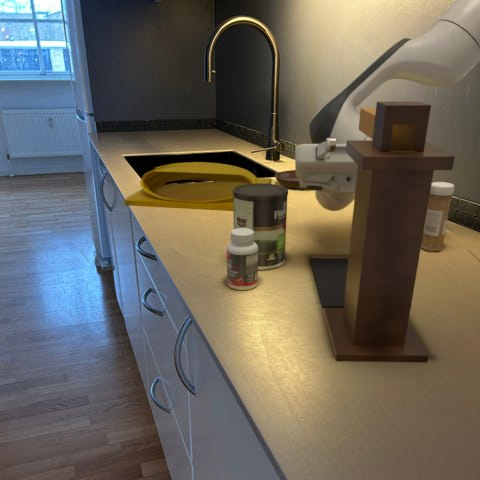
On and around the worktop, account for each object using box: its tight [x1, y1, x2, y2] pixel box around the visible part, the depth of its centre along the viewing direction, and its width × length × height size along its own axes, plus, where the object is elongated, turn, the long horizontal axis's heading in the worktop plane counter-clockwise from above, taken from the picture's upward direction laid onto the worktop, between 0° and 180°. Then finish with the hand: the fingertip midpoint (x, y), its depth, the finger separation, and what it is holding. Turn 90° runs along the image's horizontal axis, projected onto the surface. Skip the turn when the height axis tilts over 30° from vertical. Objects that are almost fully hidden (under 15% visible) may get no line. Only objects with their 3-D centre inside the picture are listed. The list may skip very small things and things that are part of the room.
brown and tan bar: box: [359, 101, 432, 152], centre depth 67 cm, size 5×20×5 cm, turn 178°
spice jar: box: [421, 181, 455, 252], centre depth 104 cm, size 5×5×13 cm
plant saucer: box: [274, 169, 306, 190], centre depth 160 cm, size 18×18×3 cm
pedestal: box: [323, 140, 456, 363], centre depth 68 cm, size 12×14×26 cm
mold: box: [124, 161, 272, 212], centre depth 149 cm, size 35×35×9 cm
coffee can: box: [232, 183, 289, 271], centre depth 97 cm, size 10×10×14 cm
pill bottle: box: [226, 228, 259, 291], centre depth 88 cm, size 5×5×10 cm
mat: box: [309, 257, 349, 309], centre depth 91 cm, size 12×22×1 cm, turn 178°
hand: (360, 142), depth 82 cm, fingers open, 8 cm apart
